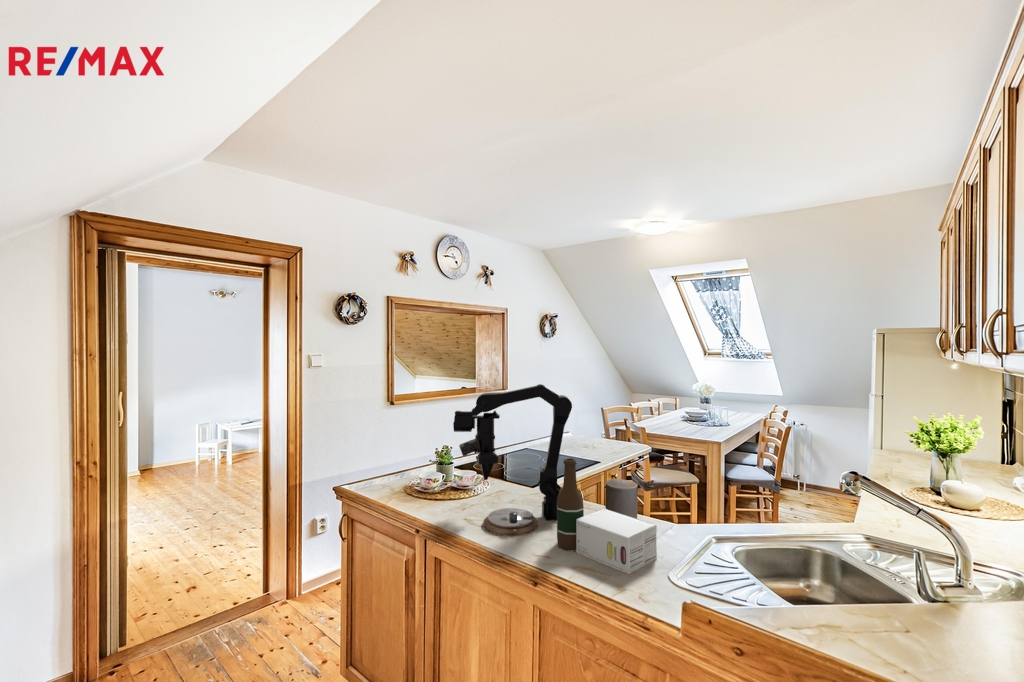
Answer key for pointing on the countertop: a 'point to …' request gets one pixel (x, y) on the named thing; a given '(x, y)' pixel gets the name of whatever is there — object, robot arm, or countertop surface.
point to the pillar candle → (621, 497)
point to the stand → (511, 532)
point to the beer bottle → (568, 508)
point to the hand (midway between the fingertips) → (485, 479)
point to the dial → (510, 518)
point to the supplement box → (616, 540)
